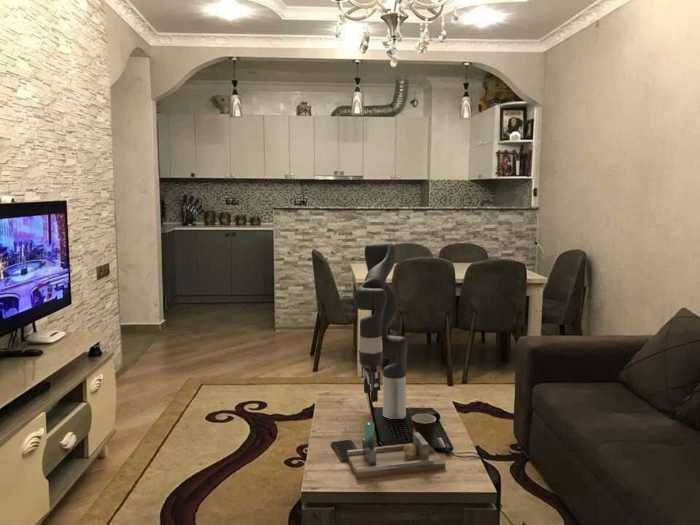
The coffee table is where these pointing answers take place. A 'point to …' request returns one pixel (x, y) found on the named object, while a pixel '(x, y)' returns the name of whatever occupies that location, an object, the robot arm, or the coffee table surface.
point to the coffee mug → (424, 426)
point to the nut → (410, 450)
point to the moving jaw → (369, 444)
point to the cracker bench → (396, 460)
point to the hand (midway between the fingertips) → (370, 397)
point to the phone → (343, 449)
